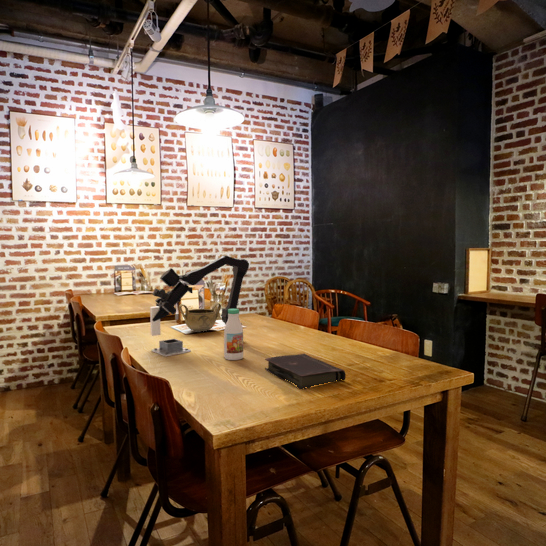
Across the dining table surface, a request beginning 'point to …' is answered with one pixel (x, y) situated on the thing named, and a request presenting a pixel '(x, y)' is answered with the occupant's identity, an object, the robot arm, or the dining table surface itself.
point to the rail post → (154, 324)
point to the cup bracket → (170, 347)
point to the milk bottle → (233, 336)
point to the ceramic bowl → (200, 317)
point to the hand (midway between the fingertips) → (152, 320)
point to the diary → (303, 370)
